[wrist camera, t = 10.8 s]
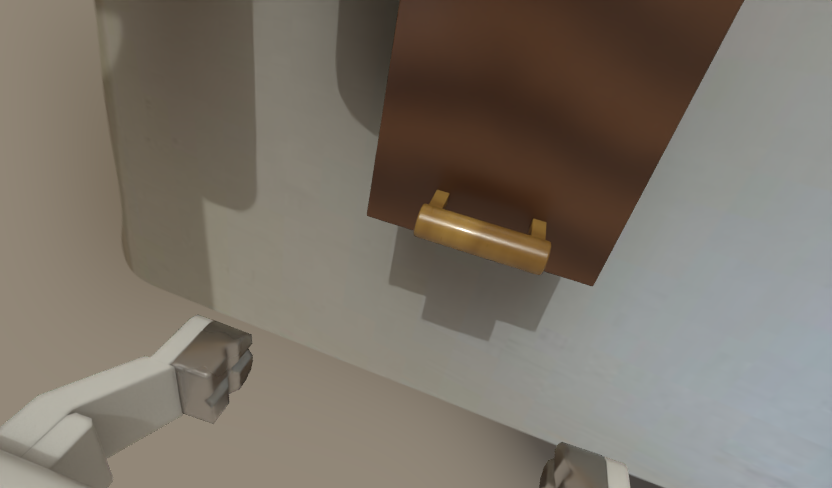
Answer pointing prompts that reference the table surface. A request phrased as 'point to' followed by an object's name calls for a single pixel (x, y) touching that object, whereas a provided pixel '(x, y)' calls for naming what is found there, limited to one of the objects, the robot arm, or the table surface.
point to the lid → (535, 121)
